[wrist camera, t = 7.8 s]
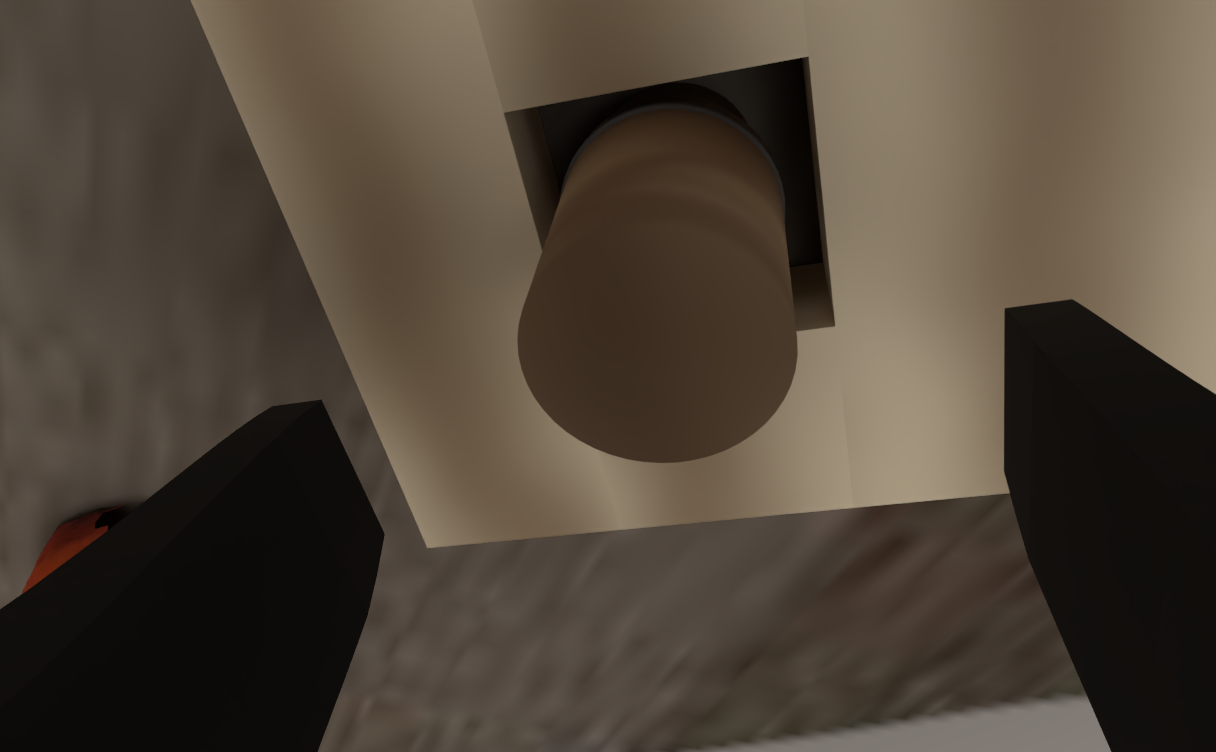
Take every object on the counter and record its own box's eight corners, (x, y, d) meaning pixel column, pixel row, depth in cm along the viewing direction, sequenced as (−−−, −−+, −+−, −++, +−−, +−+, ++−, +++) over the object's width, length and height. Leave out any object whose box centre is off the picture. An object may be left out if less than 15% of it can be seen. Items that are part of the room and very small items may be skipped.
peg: (767, 41, 17) (787, 203, 12) (787, 236, 20) (812, 453, 14) (559, 76, 18) (480, 244, 12) (599, 260, 20) (548, 475, 15)
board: (1480, -898, 11) (1656, -1037, 9) (1247, 390, 21) (1306, 465, 19) (92, -442, 14) (-12, -467, 12) (451, 476, 24) (427, 548, 22)
